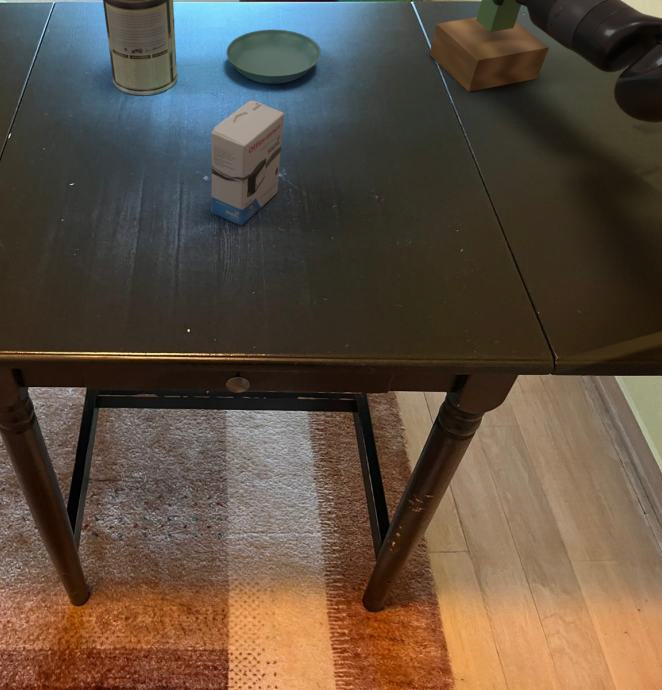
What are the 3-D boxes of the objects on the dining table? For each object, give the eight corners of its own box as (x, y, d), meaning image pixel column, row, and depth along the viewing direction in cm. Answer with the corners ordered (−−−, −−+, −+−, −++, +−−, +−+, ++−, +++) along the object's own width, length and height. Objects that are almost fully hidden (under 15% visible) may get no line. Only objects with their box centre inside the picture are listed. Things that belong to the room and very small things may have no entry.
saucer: (292, 37, 115) (293, 21, 113) (336, 79, 106) (338, 62, 104) (211, 55, 112) (211, 39, 110) (250, 100, 103) (250, 83, 101)
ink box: (241, 227, 84) (244, 145, 75) (209, 212, 86) (208, 130, 77) (279, 192, 89) (286, 111, 80) (248, 179, 91) (252, 97, 82)
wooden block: (494, 42, 113) (503, 12, 109) (537, 78, 106) (549, 47, 102) (428, 54, 111) (436, 23, 107) (468, 92, 104) (478, 60, 100)
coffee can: (101, 72, 109) (88, -21, 98) (159, 56, 112) (153, -36, 101) (129, 103, 103) (119, 7, 92) (189, 84, 106) (186, -10, 95)
